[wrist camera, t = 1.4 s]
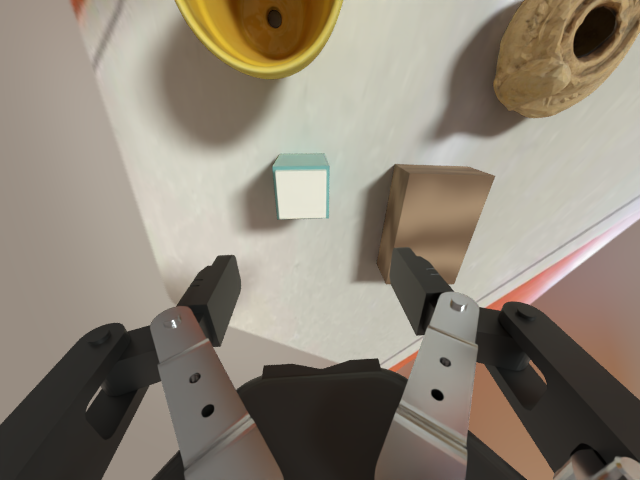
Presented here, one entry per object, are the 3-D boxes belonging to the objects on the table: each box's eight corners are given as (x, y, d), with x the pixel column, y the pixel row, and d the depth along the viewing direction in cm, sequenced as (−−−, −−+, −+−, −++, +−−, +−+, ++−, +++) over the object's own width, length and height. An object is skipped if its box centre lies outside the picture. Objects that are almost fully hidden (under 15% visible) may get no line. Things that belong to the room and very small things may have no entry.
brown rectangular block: (393, 163, 29) (409, 173, 24) (466, 166, 29) (495, 176, 25) (376, 262, 35) (386, 284, 31) (435, 262, 36) (453, 284, 31)
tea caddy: (279, 153, 27) (271, 167, 21) (324, 153, 27) (330, 167, 21) (283, 196, 30) (276, 221, 23) (324, 195, 30) (329, 220, 23)
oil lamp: (653, -10, 22) (814, -65, 15) (515, 139, 28) (586, 150, 21) (591, -115, 19) (759, -247, 12) (450, 78, 25) (507, 65, 18)
